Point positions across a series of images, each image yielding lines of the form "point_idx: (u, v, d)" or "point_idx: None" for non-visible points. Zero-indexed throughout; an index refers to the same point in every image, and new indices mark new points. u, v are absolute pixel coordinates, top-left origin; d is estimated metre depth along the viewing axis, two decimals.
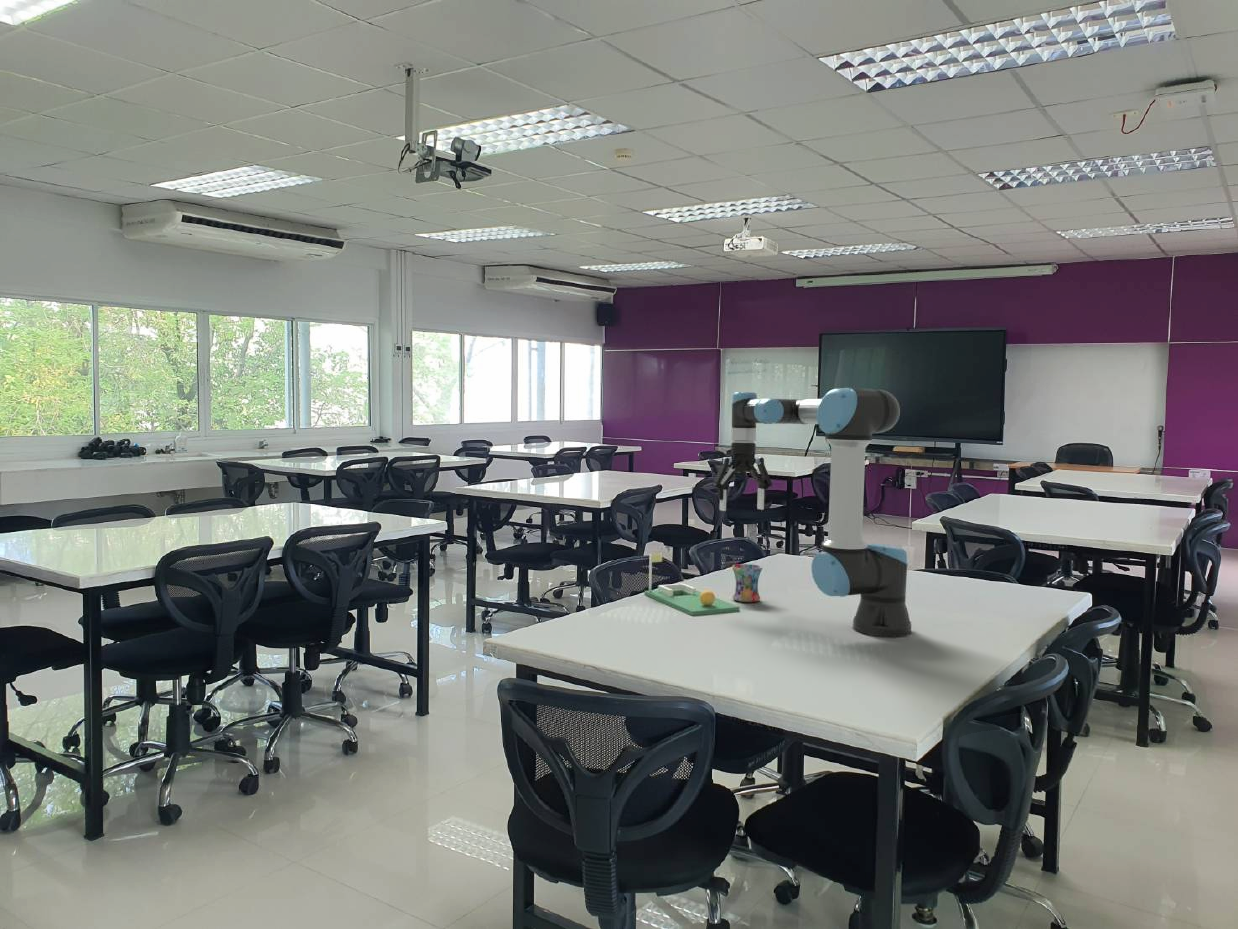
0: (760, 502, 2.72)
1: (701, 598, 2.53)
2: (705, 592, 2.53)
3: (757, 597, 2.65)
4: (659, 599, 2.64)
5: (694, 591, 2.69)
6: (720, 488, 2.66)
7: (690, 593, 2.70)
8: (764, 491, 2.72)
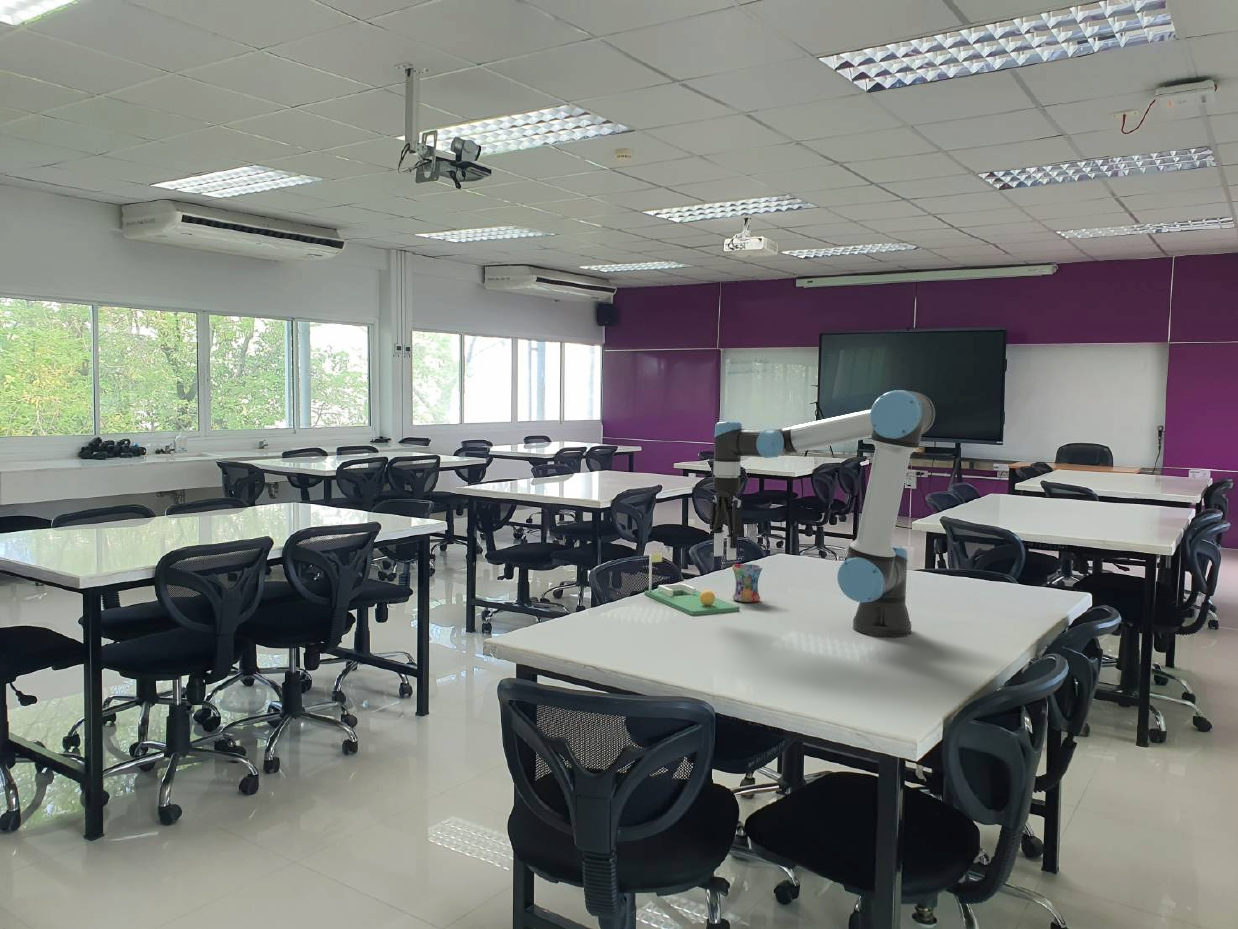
0: None
1: (701, 598, 2.53)
2: (705, 592, 2.53)
3: (757, 597, 2.65)
4: (659, 599, 2.64)
5: (694, 591, 2.69)
6: None
7: (690, 593, 2.70)
8: (731, 540, 2.41)
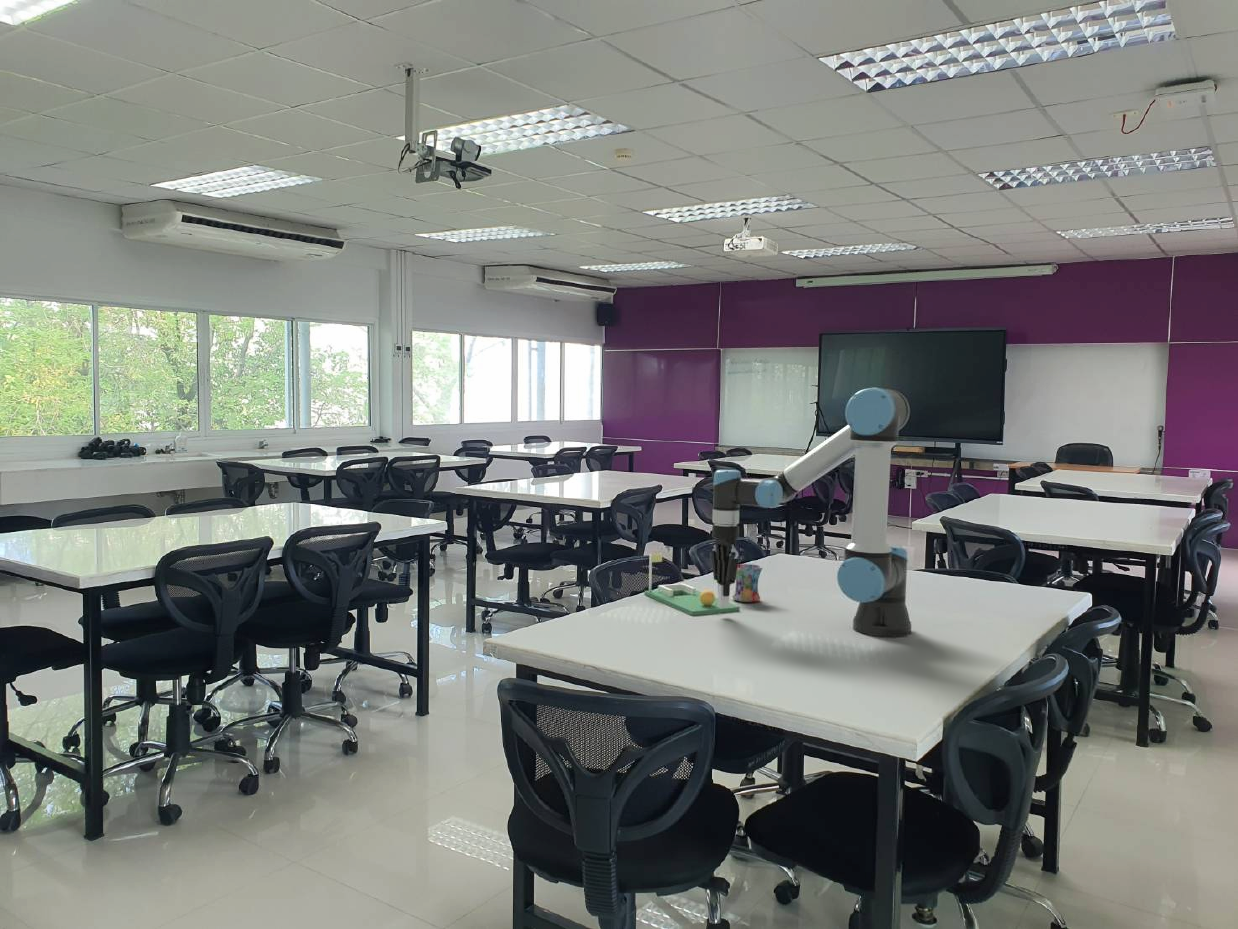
0: None
1: (701, 598, 2.53)
2: (705, 592, 2.53)
3: (757, 597, 2.65)
4: (659, 599, 2.64)
5: (694, 591, 2.69)
6: None
7: (690, 593, 2.70)
8: (724, 588, 2.44)
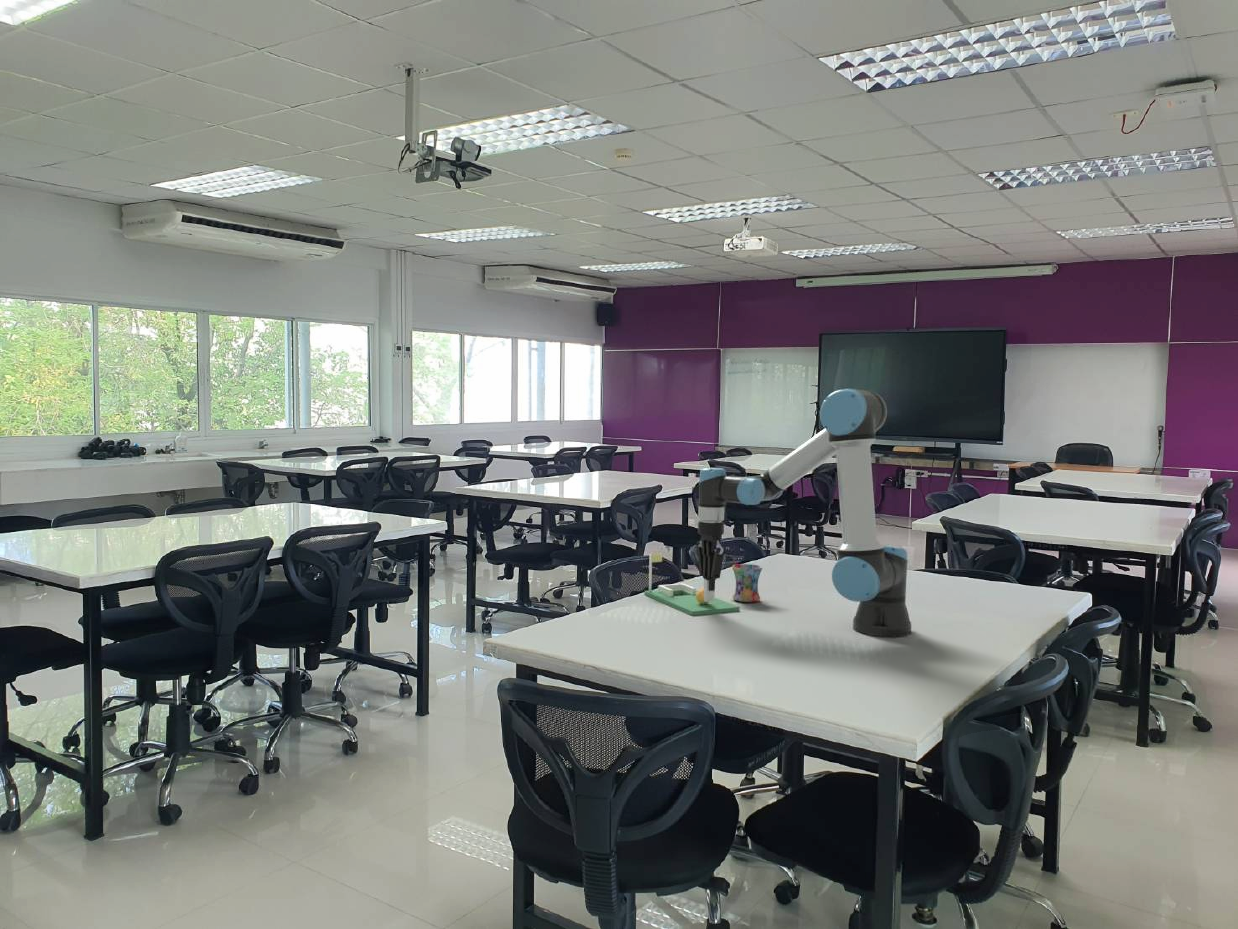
0: None
1: (697, 596, 2.55)
2: (699, 590, 2.56)
3: (757, 597, 2.65)
4: (659, 599, 2.64)
5: (694, 591, 2.69)
6: None
7: (690, 593, 2.70)
8: (709, 582, 2.51)
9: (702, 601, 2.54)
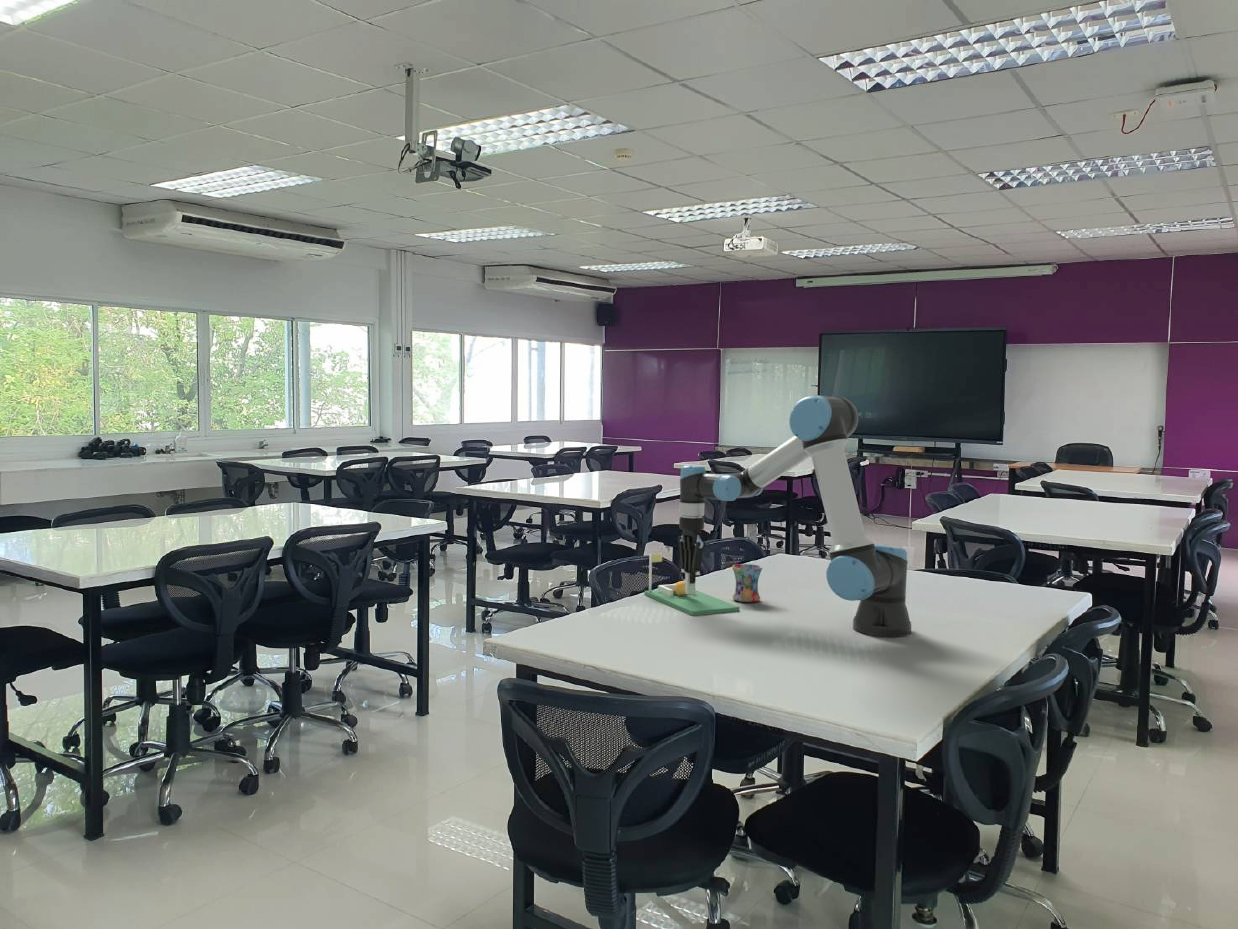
0: None
1: (676, 588, 2.66)
2: (679, 582, 2.66)
3: (757, 597, 2.65)
4: (659, 599, 2.64)
5: None
6: None
7: None
8: (690, 575, 2.62)
9: (678, 594, 2.66)
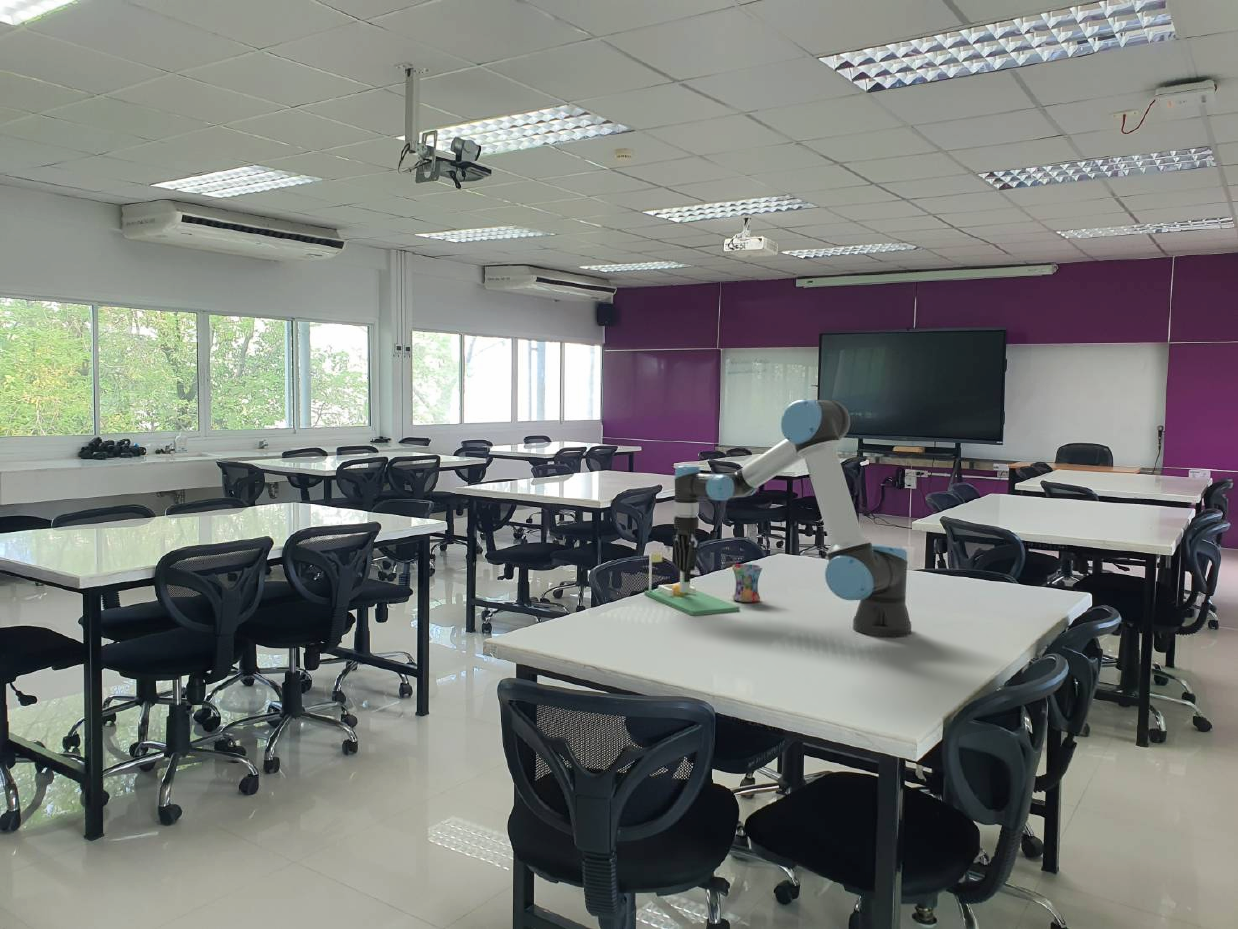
0: None
1: None
2: None
3: (757, 597, 2.65)
4: (659, 599, 2.64)
5: (694, 591, 2.69)
6: None
7: (690, 593, 2.70)
8: (685, 574, 2.65)
9: (677, 593, 2.67)
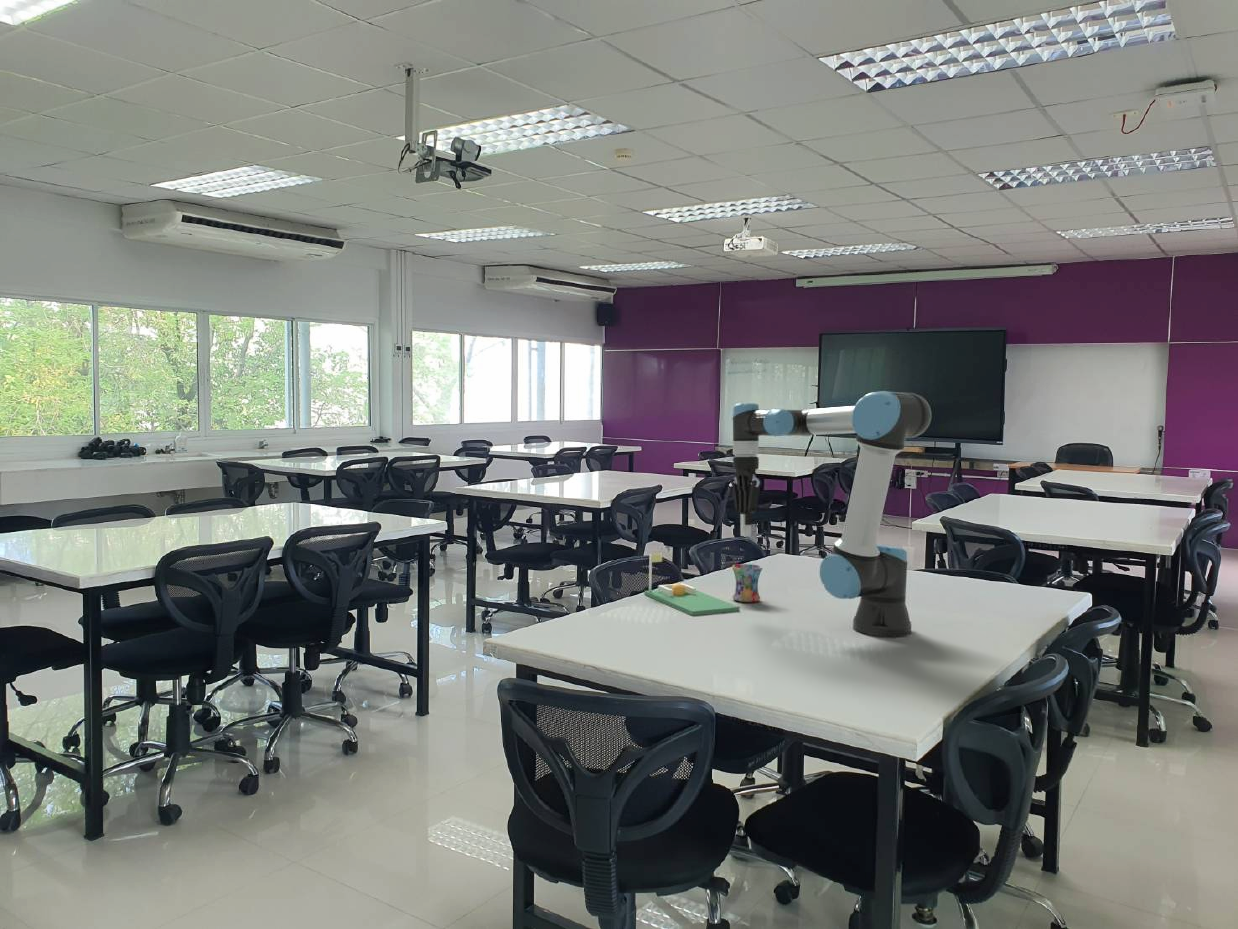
0: None
1: None
2: None
3: (757, 597, 2.65)
4: (659, 599, 2.64)
5: (694, 591, 2.69)
6: None
7: (690, 593, 2.70)
8: (746, 517, 2.54)
9: (677, 593, 2.67)
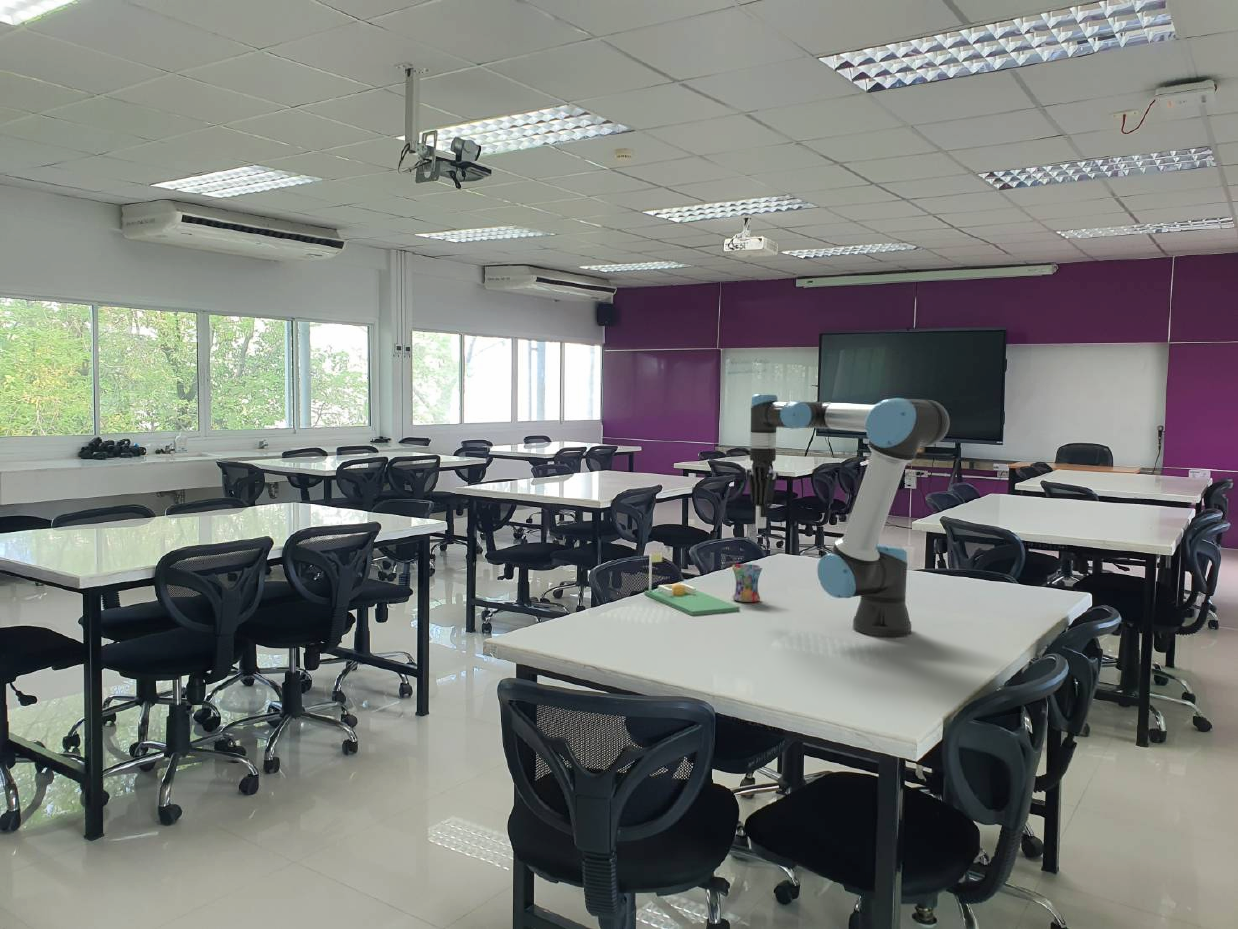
0: None
1: None
2: None
3: (757, 597, 2.65)
4: (659, 599, 2.64)
5: (694, 591, 2.69)
6: None
7: (690, 593, 2.70)
8: (761, 509, 2.52)
9: (677, 592, 2.67)
